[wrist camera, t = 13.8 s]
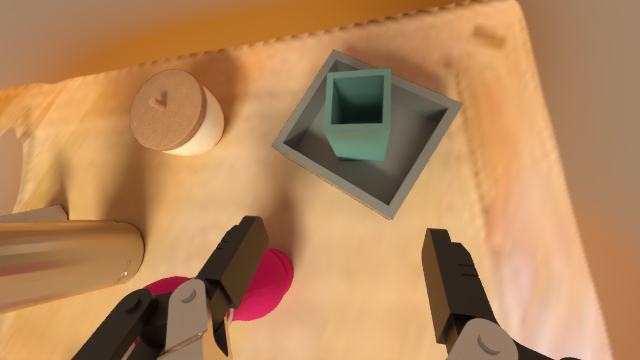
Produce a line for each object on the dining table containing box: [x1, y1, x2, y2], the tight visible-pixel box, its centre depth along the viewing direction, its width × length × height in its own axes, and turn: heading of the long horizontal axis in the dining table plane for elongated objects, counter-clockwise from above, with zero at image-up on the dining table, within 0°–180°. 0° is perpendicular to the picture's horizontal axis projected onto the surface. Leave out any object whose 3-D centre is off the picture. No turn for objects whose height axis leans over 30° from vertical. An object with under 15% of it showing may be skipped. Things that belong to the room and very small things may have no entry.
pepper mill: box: [122, 249, 293, 360], centre depth 21 cm, size 7×7×20 cm
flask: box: [0, 205, 67, 223], centre depth 35 cm, size 7×7×10 cm
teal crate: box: [323, 68, 391, 161], centre depth 25 cm, size 6×6×10 cm
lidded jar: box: [130, 69, 224, 156], centre depth 32 cm, size 11×11×9 cm
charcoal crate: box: [272, 50, 463, 220], centre depth 28 cm, size 16×14×5 cm
